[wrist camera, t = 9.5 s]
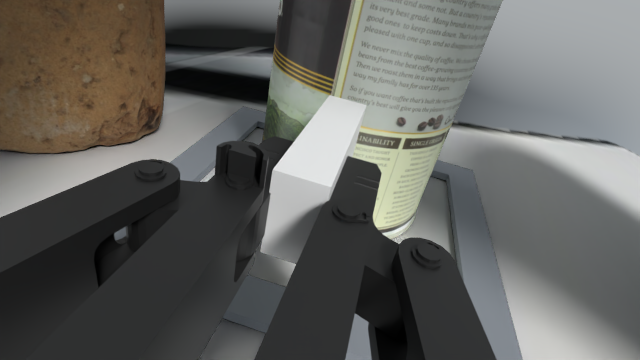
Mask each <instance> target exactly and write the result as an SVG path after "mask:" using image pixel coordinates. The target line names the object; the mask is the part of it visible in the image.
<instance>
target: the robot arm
mask: <svg viewBox="0 0 640 360" xmlns="http://www.w3.org/2000/svg"><path fill="white" fill-rule="evenodd" d="M365 109H366V105H364V104H360V103H357V102H353V101H349V100H346V99H342V98H338V97H335V96H331V95H329V97H328V98H327V99H326V101H325V102H324V103H323V104H322V106H321V107H320V108H319V110H318V111H317V112H316V114H315V115H314V116H313V118H312V119H311V120H310V121H309V123H308V124H307V125H306V127H305V128H304V129H303V131H302V132H301V133H300V135H299V136H298V137H297V138H296V140H295V141H290V140H287V139H284V138H280V137H277V136H274V137H271V138H268V139H266V140H263V142H262V143H261V144H260V145H257V144H254V143H251V142H246V141H228V142H223V143H221V144H219V145H217V147H216V164H215V175H214V176H213V177H212V178H211V179H210V180H209V181H208V182H195V181H185V180H180V172H179V169H178V168H177V167H176V166H175V165H173V164H172V163H169V162H166V161H162V160H155V159H150V160H141V161H138V162H134V163H131V164H128V165H126V166H124V167H121V168H119V169H116V170H114V171H112V172H109V173H107V174H104V175H102V176H99V177H97V178H95V179H92V180H90V181H87V182H85V183H83V184H80V185H78V186H75V187H73V188H71V189H68V190H66V191H63V192H61V193H58V194H56V195H54V196H51V197H49V198H46V199H44V200H42V201H39V202H37V203H34V204H32V205H30V206H27V207H25V208H22V209H20V210H17V211H15V212H13V213H10V214H8V215H5V216H3V217H1V218H0V360H198V359H199V357H200V356H201V354H202V352H203V350H204V349H205V347H206V345H207V343H208V342H209V340H210V338H211V337H212V335H213V333H214V331H215V330H216V328H217V326H218V324H219V323H220V321H221V319H222V317H223V316H224V314H225V312H226V311H227V309H228V307H229V305H230V304H231V302H232V300H233V298H234V297H235V295H236V293H237V292H238V290H239V288H240V286H241V285H242V283H243V281H244V279H245V278H246V276H247V274H248V273H249V271H250V269H251V267H252V266H253V263H254V259H255V252H256V248H257V247H258V245H259V243H260V242H261V240H262V244H261V251H260V252H261V253H264V254H267V255H270V256H273V257H276V258H280V259H283V260H286V261H289V262H292V263H295V264H296V266H295V269H294V271H293V273H292V275H291V278H290V280H289V282H288V284H287V287H286V289H285V291H284V294H283V296H282V298H281V300H280V303H279V305H278V307H277V309H276V312H275V314H274V316H273V318H272V321H271V323H270V325H269V328H268V330H267V332H266V334H265V337H264V339H263V341H262V343H261V346H260V348H259V350H258V353H257V355H256V357H255V359H254V360H345V359H346V354H347V349H348V344H349V339H350V334H351V330H352V325H353V320H354V315H355V314H357V315H358V316H360V317H361V318H363V319H364V320H366V321H367V322H369V323H368V333H369V341H370V350H371V358H372V360H497V359H496V357H495V354H494V352H493V350H492V347H491V345H490V343H489V340H488V338H487V335H486V333H485V331H484V328H483V326H482V324H481V321H480V319H479V317H478V314H477V312H476V310H475V307H474V305H473V303H472V300H471V298H470V296H469V293H468V291H467V289H466V286H465V284H464V282H463V279H462V277H461V275H460V272H459V270H458V268H457V265H456V263H455V261H454V259H453V258H452V256H451V255H450V253H449V252H447V251H446V250H445V249H444V248H443V247H441V246H440V245H438V244H436V243H434V242H432V241H430V240H426V239H423V238H408V239H405V240H403V241H402V242H401V243H400V244H398V243H396V242H394V241H392V240H391V239H389V238H388V237H386V236H385V235H383V234H382V233H381V232H380V231H379V230H378V229H377V227H376V226H375V224H374V221H373V212H374V208H375V203H376V198H377V193H378V188H379V184H380V179H381V174H382V173H381V171H380V169H379V167H378V165H377V164H374V163H371V162H368V161H364V160H361V159H357V158H354V157H353V153H354V150H355V146H356V142H357V138H358V135H359V131H360V127H361V124H362V120H363V116H364V113H365ZM124 227H126V236H125V237H123V238H121V239H119V240H115V237H114V233H116V232H117V231H119V230H121V229H123V228H124Z"/></svg>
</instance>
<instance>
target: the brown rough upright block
mask: <svg viewBox="0 0 640 360" xmlns="http://www.w3.org/2000/svg"><path fill="white" fill-rule="evenodd" d="M164 89H165V23H164V0H0V149H1V150H12V151H19V152H25V153H60V152H66V151H68V152H73V151H79V150H84V149H87V148H89V147H91V146H95V145H105V146H110V145H115V144H120V143H126V142H131V141H135V140H138V139H140V138H141V137H142V136H143V135H145V134H148V133H151V132H153V131H155V130H156V129H157V128H158V127H159V124H160V121H161V117H162V111H163V101H164Z"/></svg>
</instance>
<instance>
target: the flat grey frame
mask: <svg viewBox="0 0 640 360" xmlns="http://www.w3.org/2000/svg"><path fill="white" fill-rule="evenodd" d="M265 117H266V112H262V111H259V110H255V109H252V108H248V107H242V108H241V109H240V110H238V111H237V112H236V113H234V114H233V115H232V116H230V117H229V118H228V119H227V120H225V121H224V122H223V123H221V124H220V125H219V126H217V127H216V128H215V129H213V130H212V131H211V132H209V133H208V134H207V135H206V136H204V137H203V138H202V139H200V140H199V141H198V142H196V143H195V144H194V145H192V146H191V147H190V148H188V149H187V150H186V151H185V152H183V153H182V154H181V155H179V156H178V157H177V158H175V159H174V160H173V161H171V162H170V163H172V164H173V165H175V166H176V167H177V168H178V169H179V172H180V180H185V181H195V182H199V181H200V180H201V179H202V178H203V177H205V176H206V175H207V174H208V173H209V172H210V171H211V170H212V169H213V168H214V167H215V164H216V147H217V145H219V144H221V143H223V142H228V141H242V140H244V139H245V138H246V137H247V136H248V135H249V134H250V133H251V132H252V131H253V130H254V129H255V128H256V127H260V128H263V129H264V124H265ZM431 176H432V177H436V178H439V179H443V180H446V181H447V188H448V196H449V204H450V212H451V220H452V228H453V236H454V244H455V252H456V261H457V268H458V270H459V272H460V275H461V277H462V279H463V282H464V284H465V286H466V289H467V291H468V293H469V296H470V298H471V300H472V303H473V305H474V307H475V310H476V312H477V314H478V317H479V319H480V321H481V324H482V326H483V328H484V331H485V333H486V335H487V338H488V340H489V343H490V345H491V347H492V350H493V352H494V354H495V357H496V359H497V360H523V359H522V355H521V351H520V347H519V344H518V340H517V336H516V332H515V328H514V325H513V321H512V317H511V313H510V309H509V306H508V302H507V298H506V294H505V290H504V287H503V283H502V279H501V275H500V271H499V268H498V264H497V260H496V256H495V252H494V249H493V245H492V241H491V237H490V233H489V230H488V226H487V222H486V218H485V214H484V210H483V207H482V203H481V199H480V195H479V191H478V188H477V184H476V180H475V176H474V172H473V170H470V169H467V168H463V167H460V166H456V165H452V164H449V163H445V162H442V161H438V160H437V161H436V163H435V166H434V168H433V171H432V173H431ZM125 236H126V227H124V228H123V229H121V230H119V231H117V232H116V233H114V237H115V240H119V239H121V238H123V237H125ZM285 289H286V287H284V286H281V285H278V284H275V283H272V282H269V281H266V280H263V279H260V278H257V277H253V276H250V275H247V276H246V278H245V279H244V281H243V283H242V285H241V286H240V288H239V290H238V292H237V293H236V295H235V297H234V298H233V300H232V302H231V304H230V305H229V307H228V309H227V311H226V312H225V314H224V316H223V317H222V318H223V319H226V320H229V321H232V322H235V323H238V324H241V325H244V326H247V327H250V328H253V329H256V330H259V331H261V332H264V333H266V332H267V330H268V328H269V325H270V323H271V321H272V318H273V316H274V314H275V312H276V309H277V307H278V305H279V303H280V300H281V298H282V296H283V294H284V291H285ZM368 323H369V322H367V321H366V320H364V319H363V318H361V317H360V316H358V315H357V314H355V315H354V320H353V325H352V330H351V334H350V339H349V344H348V349H347V354H346V359H345V360H372V358H371V350H370V341H369V333H368Z"/></svg>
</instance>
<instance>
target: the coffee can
mask: <svg viewBox="0 0 640 360" xmlns="http://www.w3.org/2000/svg"><path fill="white" fill-rule="evenodd" d="M502 1H503V0H280V5H279V15H278V19H277V29H276V36H275V46H274V54H273V62H272V70H271V77H270V86H269V94H268V102H267V110H266V117H265V124H264V133H263V140H266V139H268V138H271V137H274V136H277V137H280V138H284V139H287V140H290V141H295V140H296V138H297V137H298V136H299V135H300V133H301V132H302V131H303V129H304V128H305V127H306V125H307V124H308V123H309V121H310V120H311V119H312V118H313V116H314V115H315V114H316V112H317V111H318V110H319V108H320V107H321V106H322V104H323V103H324V102H325V101H326V99H327V98H328V97H329V95H331V96H335V97H338V98H342V99H346V100H349V101H353V102H357V103H360V104H364V105H366V109H365V113H364V116H363V120H362V124H361V127H360V131H359V135H358V138H357V142H356V146H355V150H354V153H353V157H354V158H357V159H361V160H364V161H368V162H371V163H374V164H377V165H378V167H379V169H380V171H381V173H382V174H381V179H380V184H379V188H378V193H377V198H376V203H375V208H374V212H373V221H374V224H375V226H376V227H377V229H378V230H379V231H380V232H381V233H382V234H383V235H385V236H386V237H388V238H389V239H393V238H395V237H398V236H399V235H401V234H402V233H404V232H405V231H406V230H407V229H408V228H409V227H410V226H411V224H412V223H413V221H414V219H415V215H416V210H417V207H418V205H419V202H420V200H421V197H422V195H423V192H424V190H425V187H426V185H427V183H428V180H429V178H430V176H431V173H432V171H433V168H434V166H435V163H436V161H437V159H438V156H439V154H440V151H441V149H442V146H443V144H444V141H445V139H446V137H447V134H448V132H449V129H450V127H451V125H452V122H453V120H454V117H455V114H456V112H457V110H458V107H459V105H460V103H461V100H462V98H463V95H464V93H465V91H466V88H467V86H468V83H469V81H470V78H471V76H472V74H473V71H474V69H475V66H476V64H477V62H478V59H479V57H480V54H481V52H482V50H483V47H484V45H485V42H486V40H487V37H488V35H489V32H490V30H491V27H492V25H493V23H494V20H495V18H496V15H497V13H498V10H499V8H500V6H501V3H502ZM263 140H262V142H263Z"/></svg>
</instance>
